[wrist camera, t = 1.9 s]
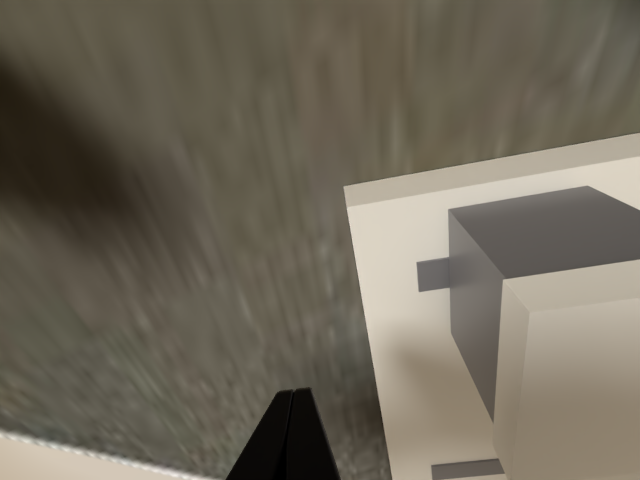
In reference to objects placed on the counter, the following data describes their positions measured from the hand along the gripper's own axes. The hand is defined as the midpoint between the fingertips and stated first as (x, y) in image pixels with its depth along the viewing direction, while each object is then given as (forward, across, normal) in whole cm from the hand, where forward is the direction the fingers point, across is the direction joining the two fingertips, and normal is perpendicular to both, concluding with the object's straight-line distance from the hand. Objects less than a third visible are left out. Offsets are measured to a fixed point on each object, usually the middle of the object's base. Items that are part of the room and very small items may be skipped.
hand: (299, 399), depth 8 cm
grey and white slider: (+4, -7, 0) cm, 8 cm away
